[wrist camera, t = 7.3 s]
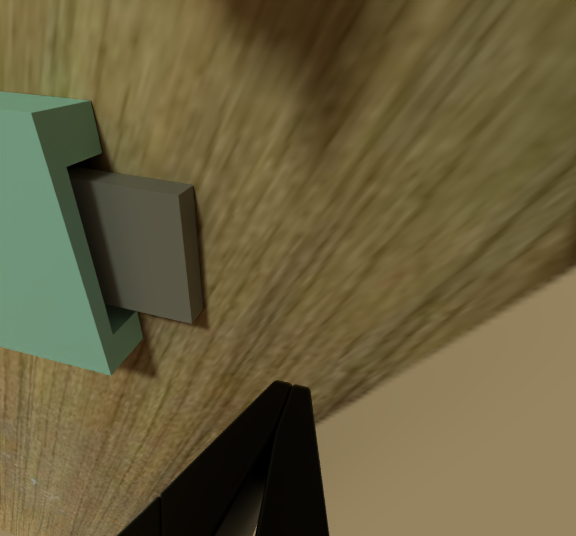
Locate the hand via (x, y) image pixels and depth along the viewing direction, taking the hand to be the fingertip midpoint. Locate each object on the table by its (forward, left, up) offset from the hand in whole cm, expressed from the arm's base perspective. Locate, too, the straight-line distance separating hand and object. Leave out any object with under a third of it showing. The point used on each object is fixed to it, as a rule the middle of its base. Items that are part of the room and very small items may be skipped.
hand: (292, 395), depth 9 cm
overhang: (+18, +4, -11) cm, 21 cm away
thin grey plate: (+14, +4, -11) cm, 18 cm away
